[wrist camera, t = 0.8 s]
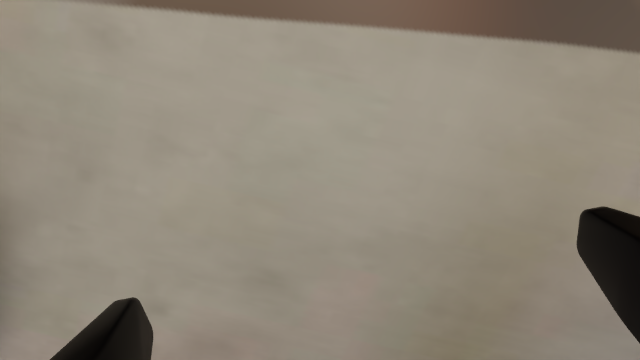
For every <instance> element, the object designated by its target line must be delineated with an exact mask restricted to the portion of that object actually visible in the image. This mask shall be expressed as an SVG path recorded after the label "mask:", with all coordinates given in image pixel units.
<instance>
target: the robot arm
mask: <svg viewBox="0 0 640 360" xmlns="http://www.w3.org/2000/svg"><path fill="white" fill-rule="evenodd" d="M577 249H578V252H579V255H580V257H581V258H582V260H583V261H584V263H585V264H586V266H587V268H588V269H589V271H590V272H591V274H592V275H593V277H594V279H595V280H596V282H597V283H598V285H599V286H600V288H601V290H602V291H603V293H604V294H605V296H606V297H607V299H608V300H609V302H610V304H611V305H612V307H613V308H614V310H615V311H616V313H617V314H618V316H619V317H620V319H621V320H622V321H623V323H624V324H625V325H626V327H627V328H628V329H629V330H630V332H631V333H632V334H633V335H634V337H635V338H636V339H637V341H638V342H639V343H640V217H638V216H635V215H632V214H628V213H625V212H622V211H618V210H615V209H612V208H608V207H597V208H592V209H587V210H584V211H583V212H582V213H581V215H580V220H579V228H578V236H577ZM152 345H153V330H152V326H151V324H150V322H149V320H148V318H147V315H146V313H145V311H144V309H143V307H142V305H141V303H140V301H139V300H138V299H137V298H134V297H132V298H127V299H122V300H117V301H115V302H113V303H112V304H111V305H110V306H109V307H108V308H107V309H105V310H104V311H103V312H102V313H101V314H100V315H99V316H98V317H97V318H96V319H94V320H93V321H92V322H91V323H90V324H89V325H88V326H87V327H86V328H84V329H83V330H82V331H81V332H80V333H79V334H78V335H77V336H76V337H74V338H73V339H72V340H71V341H70V342H69V343H68V344H67V345H66V346H64V347H63V348H62V349H61V350H60V351H59V352H58V353H57V354H56V355H54V356H53V357H52V358H51V359H50V360H151V353H152Z"/></svg>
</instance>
